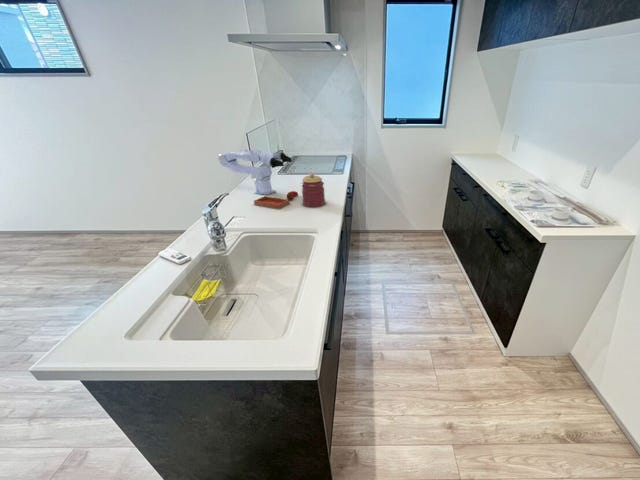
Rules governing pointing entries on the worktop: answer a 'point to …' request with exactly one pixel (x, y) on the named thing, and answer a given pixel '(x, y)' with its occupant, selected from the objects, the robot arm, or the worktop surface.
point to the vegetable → (291, 195)
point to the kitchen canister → (313, 191)
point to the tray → (271, 202)
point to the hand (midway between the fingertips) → (287, 161)
